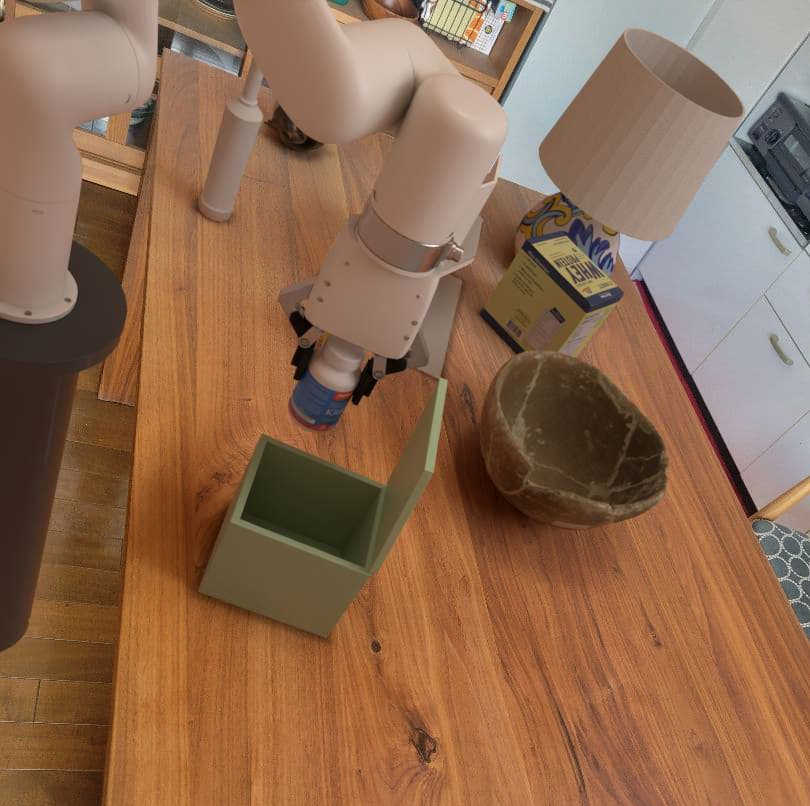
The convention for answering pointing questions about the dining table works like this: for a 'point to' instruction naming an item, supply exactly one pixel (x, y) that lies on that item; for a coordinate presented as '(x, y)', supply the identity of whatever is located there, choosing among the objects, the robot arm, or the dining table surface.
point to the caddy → (295, 538)
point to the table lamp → (633, 147)
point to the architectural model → (454, 279)
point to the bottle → (232, 149)
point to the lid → (409, 476)
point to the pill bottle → (326, 385)
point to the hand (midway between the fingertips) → (328, 382)
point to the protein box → (551, 297)
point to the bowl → (569, 443)
